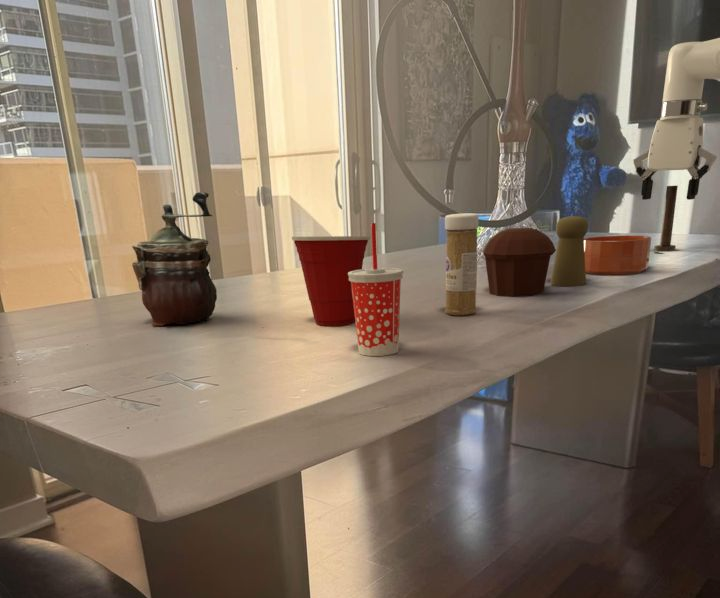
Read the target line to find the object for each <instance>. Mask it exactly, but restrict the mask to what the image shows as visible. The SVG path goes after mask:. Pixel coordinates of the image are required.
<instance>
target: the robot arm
mask: <svg viewBox="0 0 720 598" xmlns="http://www.w3.org/2000/svg"><path fill="white" fill-rule="evenodd" d="M705 80H716V81H717V82H720V37H717V38H713V39H709V40H704V41H687V42H681V43H677V44H674V45H673V46H672V47H671V48H670V50H669V51H668V56H667V63H666V71H665V78H664V87H663V94H662V102H661V110H660V118H659V120H656V123H655V126H654V128H653V132H652V136H651V140H650V145H649V149H648V150H647V151H645V152H643V153H642V154H640V155H638V156H637V157H635V158H634V159H633V165H634V168H635V172H636V173H637V175H638V176H639V177H640V180H641V181H642V184H641V192H640V195H641V196H642V198H641V199H642V200H643V201H644V200H651V198H652V193H653V186H654V180H653V177H654V175H655V174H656V173H657V172H658V171H684V170H686V171H687V172H688V173H689V175H690V176H691V178H689V180H688V185H687V191H686V200H687V201H688V200H689V201H690V200H695V199H696V196H698V194H699V187H700V181H701V180H702V179H703V176H705V175H706V174H707V173H708V172H709V171H710V170H711V168H712V166H713V165H714V163H715V162H716V161H717V158H718V156H717V155H716V154H714V153H713V152H711V151H709V150H707V149H705V148H704V117H700V115H701V112H704V111H707V110H708V103H707V102H706V103H704V102H703V100H702V98H703V92H704V91H703V90H704V86H705ZM702 158H703V159H705V162H704V164H703V165H702V166H701V162H702ZM646 160H647V169H645V167H644V164H643V162H644V161H646ZM700 166H701V167H700ZM699 167H700V168H699Z"/></svg>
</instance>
